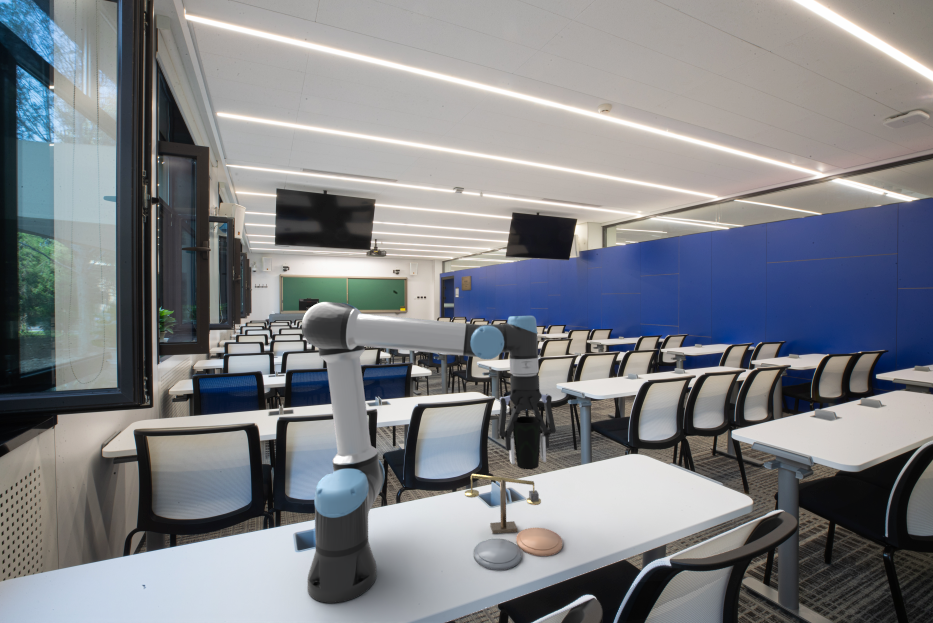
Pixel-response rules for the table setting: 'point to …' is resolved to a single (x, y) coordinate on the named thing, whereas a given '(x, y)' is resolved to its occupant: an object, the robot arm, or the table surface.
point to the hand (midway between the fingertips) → (527, 460)
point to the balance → (504, 501)
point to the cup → (527, 441)
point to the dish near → (497, 554)
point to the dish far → (539, 541)
